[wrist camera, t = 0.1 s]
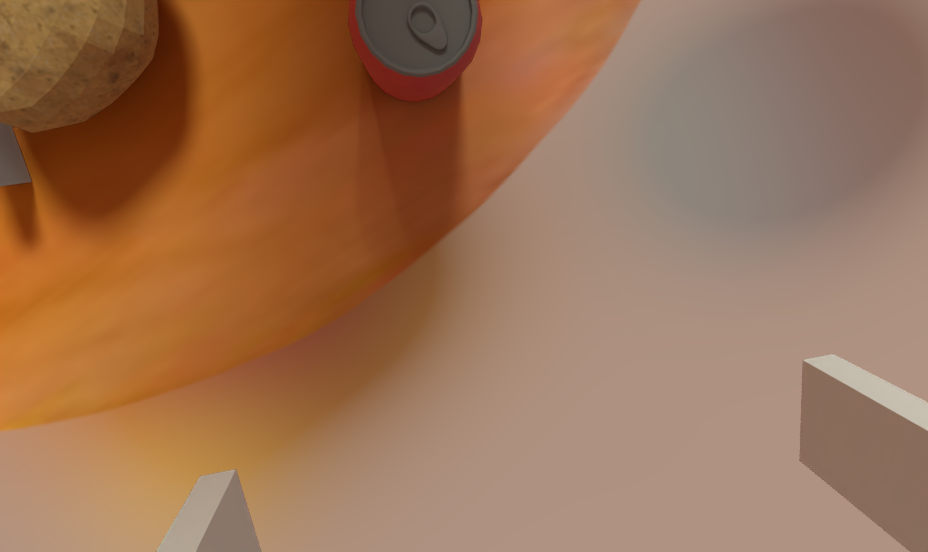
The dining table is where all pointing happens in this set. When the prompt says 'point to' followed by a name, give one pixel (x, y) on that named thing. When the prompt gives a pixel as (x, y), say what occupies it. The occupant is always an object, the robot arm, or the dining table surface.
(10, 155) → the u-shaped frame
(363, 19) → the beer can
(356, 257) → the dining table surface
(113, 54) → the potato
